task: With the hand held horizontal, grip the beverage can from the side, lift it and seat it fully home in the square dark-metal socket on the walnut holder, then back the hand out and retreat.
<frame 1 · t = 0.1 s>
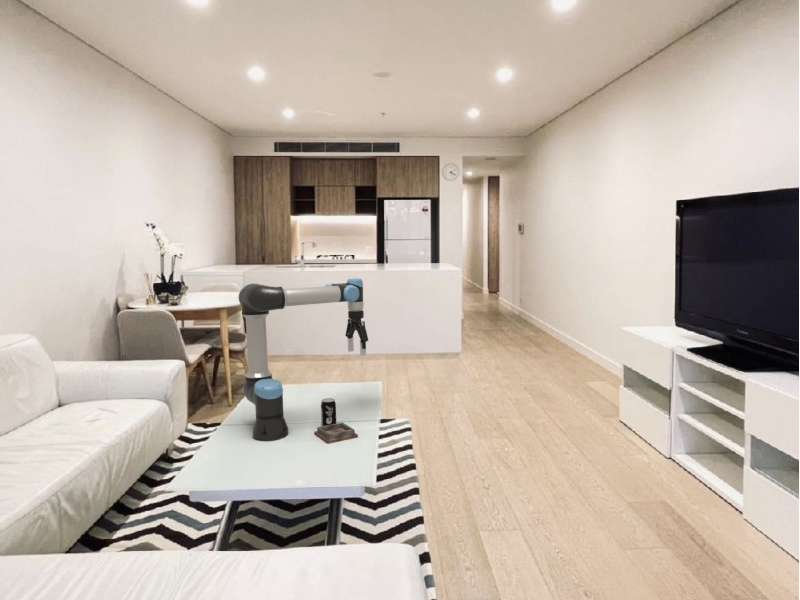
hand: (356, 353, 279), 28 cm above the table, tool pointing down, fingers open, 13 cm apart
beverage can: (329, 426, 256), on the table
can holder: (335, 435, 243), on the table
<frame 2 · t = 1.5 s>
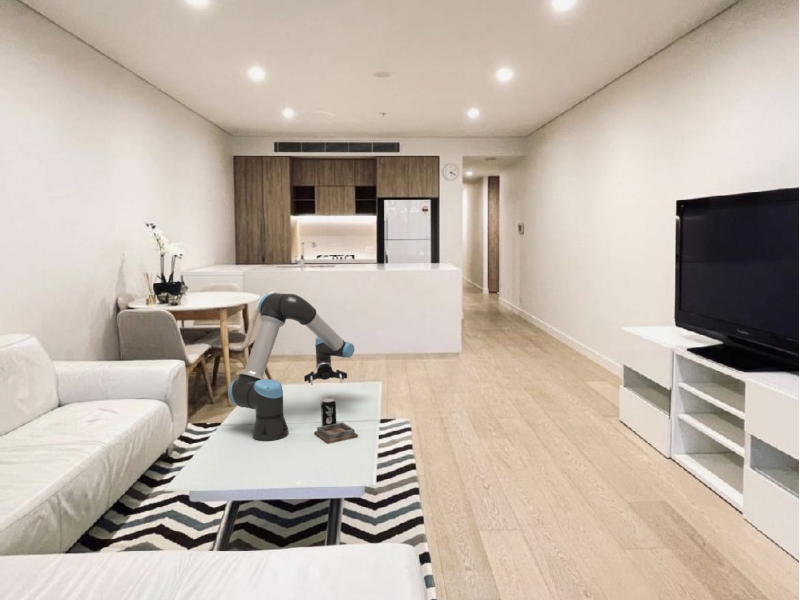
hand: (326, 381, 264), 18 cm above the table, tool horizontal, fingers open, 13 cm apart
nothing on the table moved.
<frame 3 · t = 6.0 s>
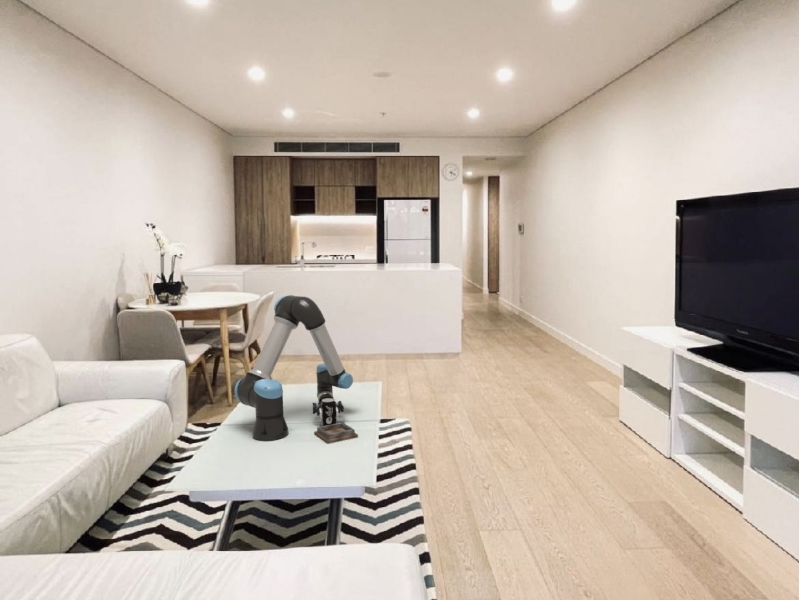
hand: (329, 414, 251), 7 cm above the table, tool horizontal, fingers closed on beverage can, 7 cm apart
beverage can: (329, 426, 256), on the table, touching gripper
when the fingers open (9 cm above the table, at t = 10.9 s): beverage can drops 1 cm, resting on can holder.
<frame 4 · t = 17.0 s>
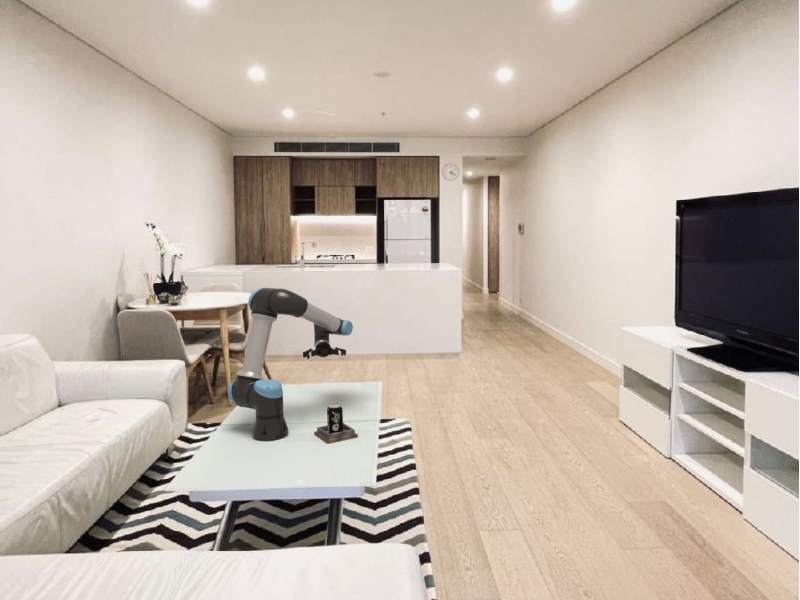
hand: (325, 356, 262), 30 cm above the table, tool horizontal, fingers open, 13 cm apart
beverage can: (335, 433, 243), point 1 cm above the table, touching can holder
at the end: beverage can 0.1 cm off-centre on the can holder, point 1.0 cm above the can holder's base; beverage can tilted 0°; the gripper is holding nothing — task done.
